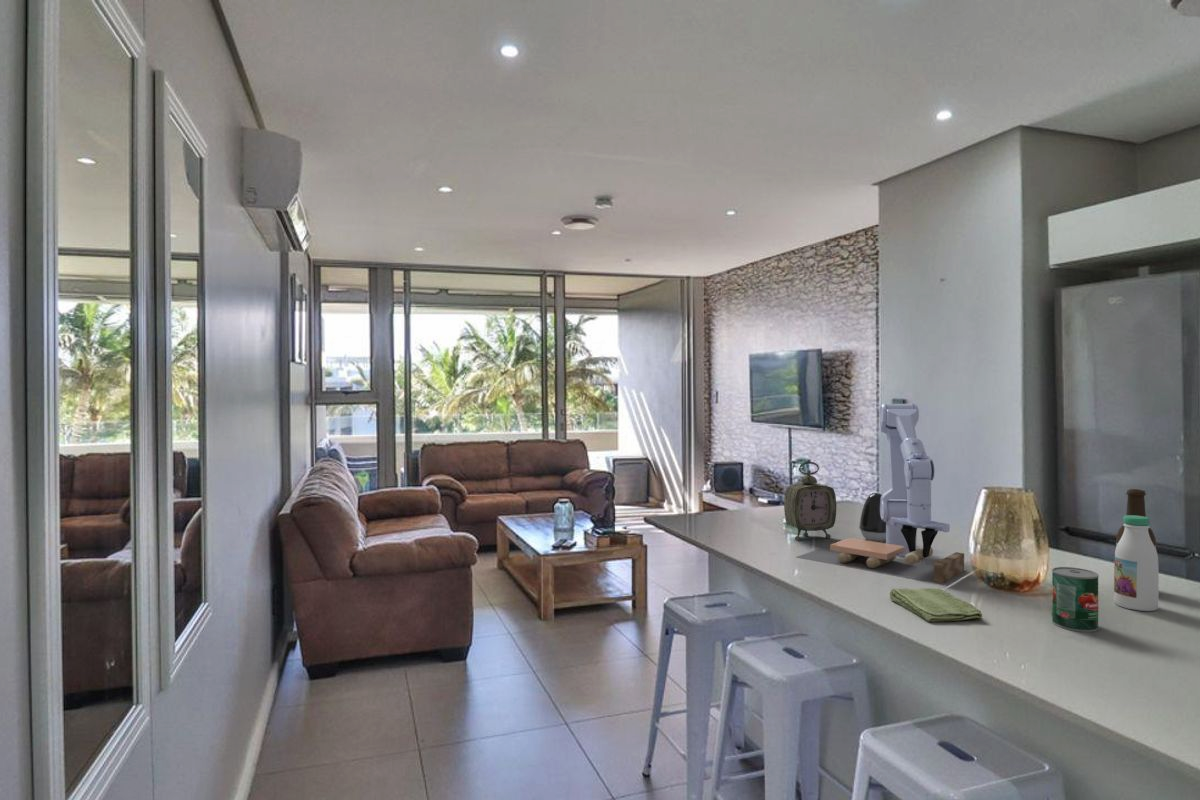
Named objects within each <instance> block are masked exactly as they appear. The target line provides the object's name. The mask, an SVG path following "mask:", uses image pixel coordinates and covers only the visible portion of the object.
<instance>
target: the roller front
mask: <svg viewBox="0 0 1200 800" xmlns="http://www.w3.org/2000/svg"><path fill="white" fill-rule="evenodd" d="M895 558H897V556H895V557H892V558H890V559H888V560H885V559H879V558H873V557H870V558H868V559H867V561H866V564H867V566H868V567H869V568H872V569H873V568H876V567H879V566H881V565H883V564H885V563H887V562H890V561H892V560H894V559H895Z"/></svg>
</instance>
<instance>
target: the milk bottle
mask: <svg viewBox="0 0 1200 800" xmlns="http://www.w3.org/2000/svg"><path fill="white" fill-rule="evenodd" d="M1122 521H1123V525H1124V526H1125V529H1124V533H1123V535H1122V537H1121V539H1120V541H1119V542H1118V544H1117V546H1116V545H1115V551H1114V567H1113V568H1114V569H1113V570H1114V572H1113V573H1114V574H1113V576H1114V577H1113V579H1114V580H1113V582H1114V583H1113V594H1114V595H1113V597H1114V599H1113V600H1114V602H1115V605H1117V606H1118V607H1122V608H1124V609H1129V610H1133V611H1140V612H1153V611H1154V612H1155V611H1158V608H1159V588H1160V587H1159V583H1160V582H1159V577H1160V576H1159V556H1158V552H1157V547H1156V548H1155V546H1154V544H1153V542H1152V541H1151V538H1150V536H1149V532H1148V528H1150V529H1151V527H1150V524H1151V523H1150V521H1151V520H1150V518H1149V517H1147V516H1146V517H1144V516H1135V515H1124V516H1123V518H1122ZM1123 525H1122V526H1123Z"/></svg>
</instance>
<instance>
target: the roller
mask: <svg viewBox="0 0 1200 800" xmlns="http://www.w3.org/2000/svg"><path fill="white" fill-rule="evenodd" d="M933 554H934V550H933V548H932V547H931V548H930V552H929V556H928V557H923V546H922V547H920V548H917V550H915V551H913V552H911V553H908V554H907V555H905V556H904V559H903V560H905V562H906V563H907V564H910V565H912V564H915V563H917V562H921V561H923V560H925V559H927V558H929V557H930V556H932V555H933Z"/></svg>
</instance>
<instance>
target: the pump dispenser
mask: <svg viewBox="0 0 1200 800" xmlns="http://www.w3.org/2000/svg"><path fill="white" fill-rule="evenodd" d="M882 495H883V494H881V493H880V492H874V493H873V492H871V493H869V495H868V496H867V497H866V500H865V501H864V504H863V506H862V509H861V514H860V519H859V526H858V527H859V530H860V533H861V535H862V537H863V538H864V540H867V541H874V542H880V543H886V522H885V521H883V520H882V519H881V516H880V503H881V496H882Z"/></svg>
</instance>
